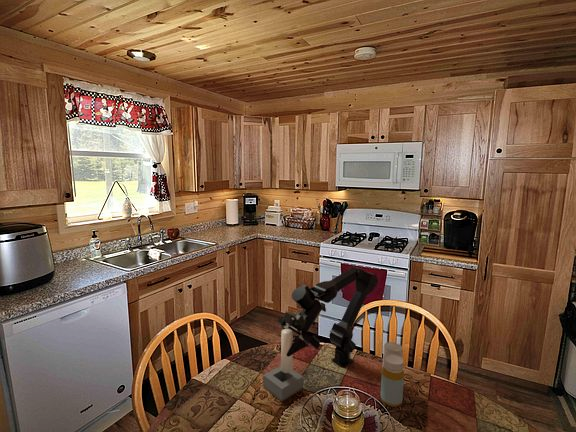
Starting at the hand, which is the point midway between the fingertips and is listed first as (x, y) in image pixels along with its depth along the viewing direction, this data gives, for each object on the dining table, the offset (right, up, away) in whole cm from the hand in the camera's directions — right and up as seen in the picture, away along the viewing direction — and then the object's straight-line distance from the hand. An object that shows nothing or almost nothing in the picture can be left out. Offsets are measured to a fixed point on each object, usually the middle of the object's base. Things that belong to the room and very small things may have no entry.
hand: (283, 353), depth 110 cm
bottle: (+36, -15, -2) cm, 39 cm away
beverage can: (+39, -14, +5) cm, 42 cm away
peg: (+1, -6, +2) cm, 7 cm away
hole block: (0, -14, +3) cm, 14 cm away
